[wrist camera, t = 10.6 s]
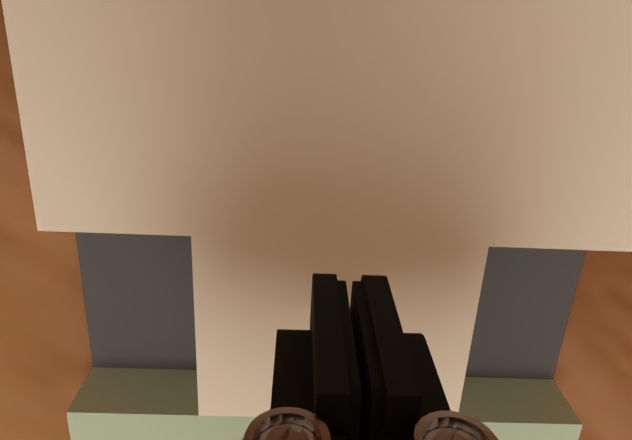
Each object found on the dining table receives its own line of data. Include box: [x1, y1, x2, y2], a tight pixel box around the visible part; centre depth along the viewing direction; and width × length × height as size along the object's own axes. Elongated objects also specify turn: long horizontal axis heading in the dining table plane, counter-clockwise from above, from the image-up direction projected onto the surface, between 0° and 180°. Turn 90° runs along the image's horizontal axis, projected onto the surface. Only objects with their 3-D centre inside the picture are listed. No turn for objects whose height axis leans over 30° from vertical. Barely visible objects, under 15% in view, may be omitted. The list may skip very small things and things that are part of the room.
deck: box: [1, 0, 632, 440], centre depth 17 cm, size 20×16×2 cm
